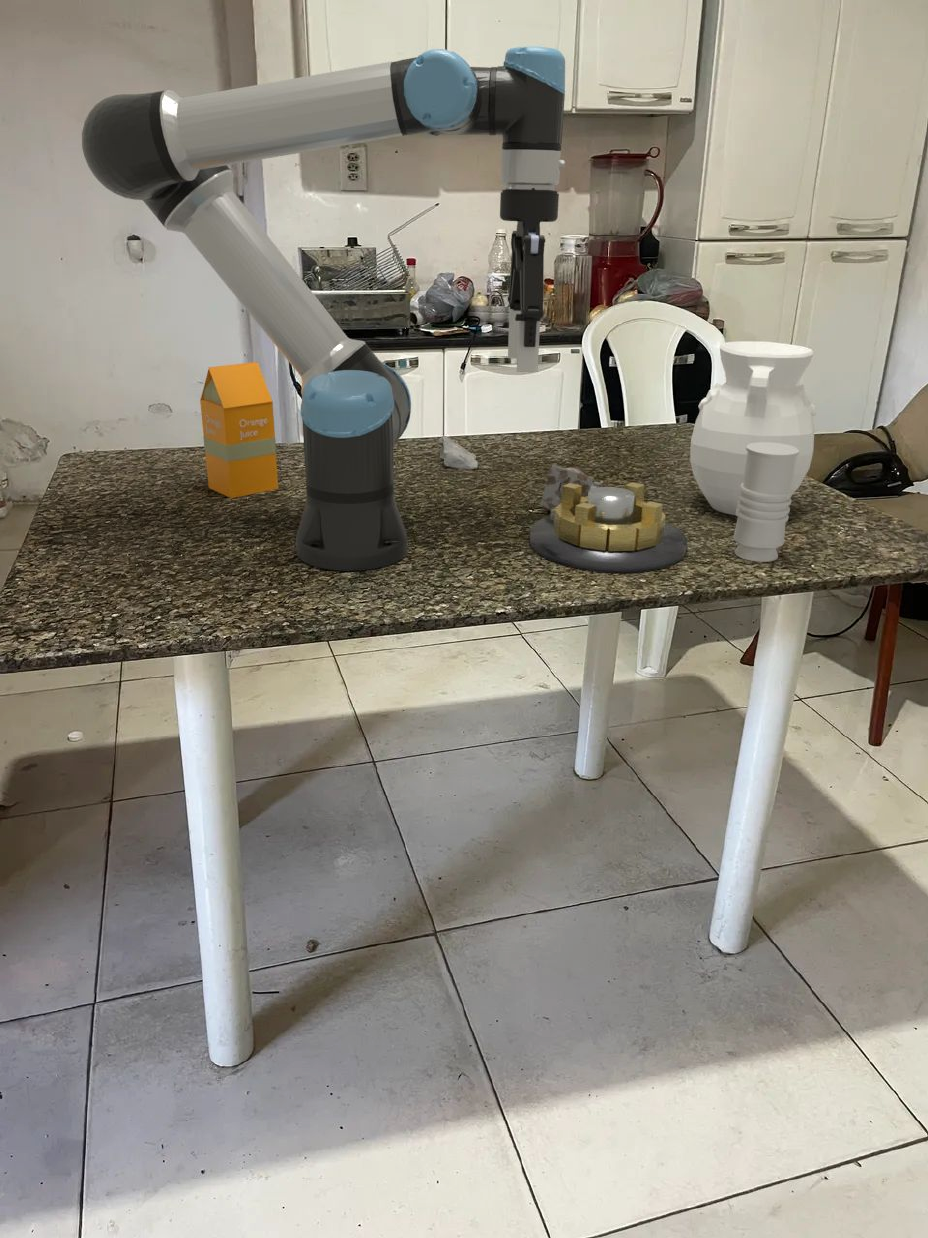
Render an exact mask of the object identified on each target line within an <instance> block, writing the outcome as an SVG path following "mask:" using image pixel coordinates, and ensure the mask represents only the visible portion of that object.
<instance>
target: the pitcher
mask: <svg viewBox="0 0 928 1238" xmlns="http://www.w3.org/2000/svg"><path fill="white" fill-rule="evenodd" d="M719 351H720V361H721V363H722V366H723V367H722V368H723V370H724V375H725V382H724V383H723V384H720V383H715V385H714V386H713V388H711V389H709V390H708V392H707V394H706V397H703V399H701V401H700V402H699V404H698V409H699V410H698V411H699V413H698V415H697V417H696V419H695V423H694V426H693V427H694V428H693V431H692V434H691V439H690V454H689V462H690V466H691V469H692V474H693V477H694V480H695V481H696V483H697V485H698V487H699V490H700V492H701V493H702V495H703V496H704V497H705V499H706V501H707V502H708V504H709V505H710V506H711V508H712V509H714V510H715V511H717V512H720V513H723V514H726V515H727V514H728V515H732V516H736V508H737V501H738V494H739V487H740V485H741V484H742V483H743V481H744V474H745V467H746V460H747V453H748V452H747V450H746V446H747V445H748V444H751V443H756V442H771V443H780V444H786V445H790V446H793V447H796V448H797V449H799V454H798V455H797V456H796V461H795V467H794V473H793V479H792V485H791V489H792V491H793V493H795V492H796V491H797V490H798V489H799V488H800V487H801V485H802V483H803V481H804V479H805V477H806V476H807V473H808V471H809V470H810V467H811V464H812V459H813V454H814V449H815V448H814V447H815V446H814V444H815V443H814V441H815V427H814V426H815V425H814V416H816V415H817V411H816V409H817V408H816V405H815V404H813V403H812V398H811V396H810V394H809V393H807V392H806V391H805V385H804V383H803V384H798V382H799V381H800V379H801V378H802V376H803V375H804V373H805V371H806V370H807V368H808V367H809V365H810V363H811V361H812V358H813V356H814V354H815V352H814V350H813V349H811V348H809V347H806V346H803V345H797V344H789V343H782V342H775V341H774V342H773V341H755V340H753V341H751V340H750V341H748V340H745V341H744V340H743V341H727V342H723V343H721V345H720V346H719ZM797 384H798V385H797Z"/></svg>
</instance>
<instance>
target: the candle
mask: <svg viewBox="0 0 928 1238" xmlns="http://www.w3.org/2000/svg"><path fill="white" fill-rule="evenodd" d="M746 450H747V452H748V453H747V460H746V467H745V474H744V481H743V483H742V484H741V485H740V487H739V494H738V501H737V508H736V515H735V516H736V517H737V520H736V525H735V527H734V528H735V529H734V532H733V540H734V541H735V542H736V543H738V544H737V547H736V548H735V550H734V554H735V556H737V557H738V558H740V559H743V560H747V561H752V562H758V563H759V562H762V563H763V562H774V561H776V560H778V558H779V555H778V551H777V548H780V547H782V546H783V545H784V544H785V532H786V523H787V522H788V521H789V513H790V511H791V510H790V506H791V504H792V498H791V497H792V496H793V491H792V489H791V485H792V479H793V473H794V467H795V461H796V456H797V455H798V454H799V449H797V448H796V447H793V446H790V445H786V444H780V443H771V442H756V443H751V444H748V445H747V446H746Z"/></svg>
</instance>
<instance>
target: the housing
mask: <svg viewBox="0 0 928 1238" xmlns="http://www.w3.org/2000/svg"><path fill="white" fill-rule="evenodd" d="M634 497H635V494H634V493H633V492H632V491H629V490H627V489H625V488H622V487H617V486H606V487H598V488H593V489H591V490H589V491H588V503H589V504H593V505H596V517H595V523H599V524H606V525H631V524H632V518H633V508H634ZM644 499H645V495H643V502H645V501H644ZM529 531H530V532H529V545H530V547H531V548H532V550H533V551H534V553H536V554H538V555H539V556H540V557H543V558H544V559H547V560H548V561H550V562H553V563H556V564H559V565H562V566H565V567H570V568H573V569H578V570H583V571H589V572H590V571H591V572H598V573H608V574H610V573H611V574H632V573H634V574H636V573H645V572H651V571H658V570H661V569H665V568H668V567H672V566H673V565H675V564H677V562H678V563H679V562H680V561H682V560H683V559H684V558H685V556H686V554H687V545H688V539H687V535H685V533H684V532H683V531H682V530H680V529H679V528H677V527H676V526H675V525H672V524H670V523H669V522H666V521H665V528H664V537H663V538H662V539H661V541H660V542H659V543H658V544H656V545H655V546H651V547H648V548H644V549H640V550H635V551H608V550H606V551H603V550H596V549H590V548H584V547H580V545H579V546H576V545H573V544H571V543H569V542H567V541H564V540H562V539H560V538H558V536H557V534H556V533H555V531H554V520H551V515H548V516H545V517H543V518H541V519H538V520H537V521H536V522H534V523H533V524H532V525H531V527H530V530H529Z"/></svg>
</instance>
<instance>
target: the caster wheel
mask: <svg viewBox="0 0 928 1238" xmlns="http://www.w3.org/2000/svg"><path fill="white" fill-rule="evenodd" d="M569 483H572V484H577V485H581V486H582V489H581V497H586V496H588V491H589V490H591V489H593V488H598V487H607V486H606V485H604V484H602V483H601V482H599V481H594V477H593V476H590V475H587V474H585V473H584V471H582V469H579V468H578V467H571V466H570V467H562V466H559V465H554V464H552V465H551V467H550V470H549V474H548V476H547V480H546V484H545V487H544V490H543V493H542V497H541V500H540V507H542V508H544V509H548V510H550V511H551V510H552V509H554V508H556V507H557V506H558V505H559V504H560V503H561V498H562V486H563V485H566V484H569Z"/></svg>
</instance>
